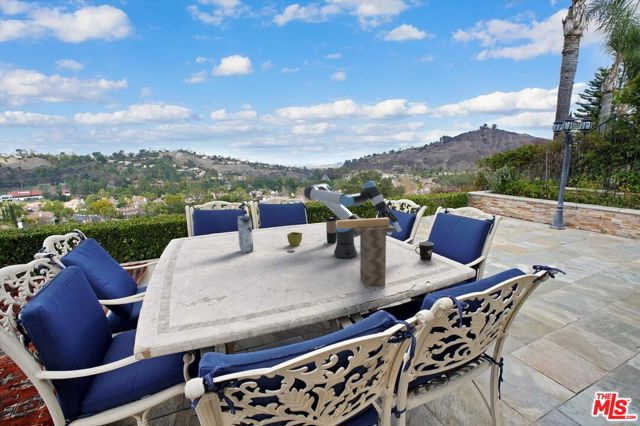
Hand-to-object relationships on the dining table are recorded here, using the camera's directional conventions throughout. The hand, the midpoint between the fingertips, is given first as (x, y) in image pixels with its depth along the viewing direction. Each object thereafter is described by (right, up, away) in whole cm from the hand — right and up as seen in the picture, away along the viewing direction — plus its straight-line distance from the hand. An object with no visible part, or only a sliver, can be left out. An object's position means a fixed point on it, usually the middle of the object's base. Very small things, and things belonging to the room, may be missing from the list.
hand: (395, 233), depth 177 cm
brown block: (-26, +6, -36) cm, 45 cm away
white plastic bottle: (-100, -15, +29) cm, 105 cm away
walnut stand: (-20, -23, -30) cm, 43 cm away
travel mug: (-38, -11, +44) cm, 59 cm away
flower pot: (-66, -12, +40) cm, 78 cm away
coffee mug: (+18, -17, +2) cm, 25 cm away
